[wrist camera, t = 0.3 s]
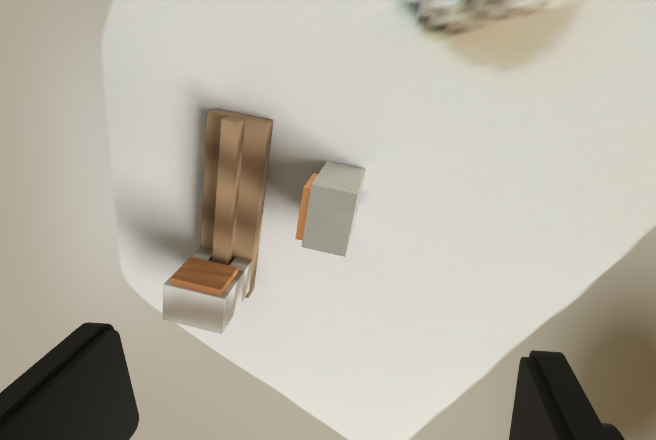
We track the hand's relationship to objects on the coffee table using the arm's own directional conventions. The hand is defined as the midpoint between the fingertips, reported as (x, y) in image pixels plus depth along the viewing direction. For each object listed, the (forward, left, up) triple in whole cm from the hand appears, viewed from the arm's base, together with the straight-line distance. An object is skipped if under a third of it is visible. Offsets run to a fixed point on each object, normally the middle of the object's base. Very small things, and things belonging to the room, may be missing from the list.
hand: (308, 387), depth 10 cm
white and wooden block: (+7, -3, -35) cm, 35 cm away
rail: (+11, -14, -35) cm, 39 cm away
